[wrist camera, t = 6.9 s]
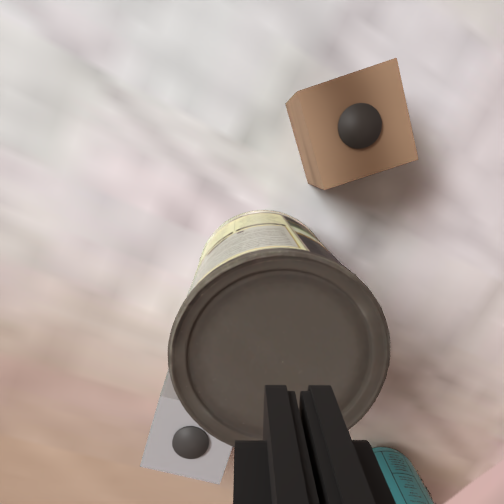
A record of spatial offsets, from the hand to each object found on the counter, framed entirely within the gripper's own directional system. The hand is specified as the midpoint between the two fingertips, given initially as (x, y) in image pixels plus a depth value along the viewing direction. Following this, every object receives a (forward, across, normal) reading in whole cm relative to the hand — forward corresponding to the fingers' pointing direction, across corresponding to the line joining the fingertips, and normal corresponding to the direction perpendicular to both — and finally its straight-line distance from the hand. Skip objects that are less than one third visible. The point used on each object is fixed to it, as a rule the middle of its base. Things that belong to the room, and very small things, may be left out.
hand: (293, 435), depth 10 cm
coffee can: (+22, 0, +3) cm, 22 cm away
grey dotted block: (+22, +5, +14) cm, 26 cm away
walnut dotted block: (+22, -6, -8) cm, 24 cm away
